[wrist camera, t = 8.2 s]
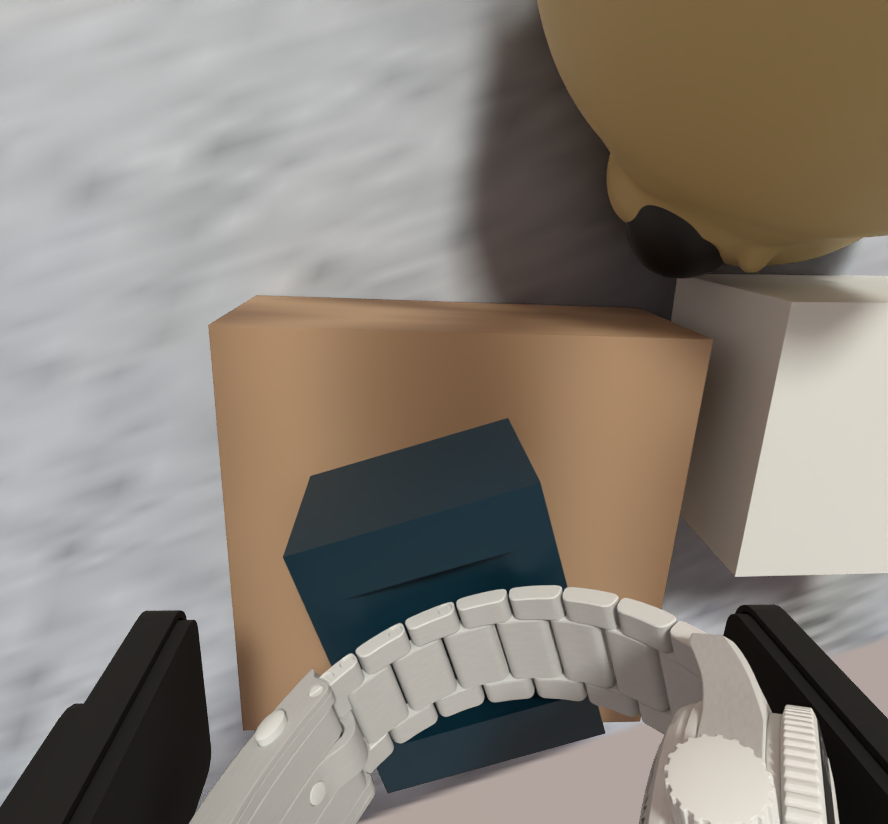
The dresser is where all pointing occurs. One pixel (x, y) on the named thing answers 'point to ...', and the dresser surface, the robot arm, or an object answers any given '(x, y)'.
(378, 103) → the dresser surface
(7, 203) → the dresser surface
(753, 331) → the off-white block
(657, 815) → the watch
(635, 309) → the walnut block
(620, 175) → the beige rounded piece
